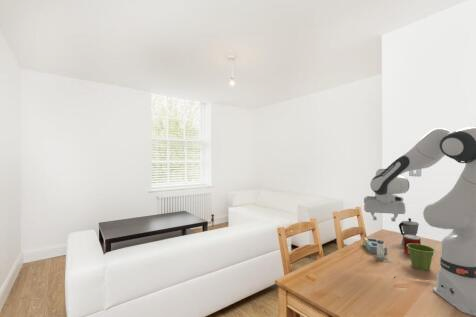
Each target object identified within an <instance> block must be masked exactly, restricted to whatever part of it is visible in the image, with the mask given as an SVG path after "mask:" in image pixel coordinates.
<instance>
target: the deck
mask: <svg viewBox="0 0 476 317" xmlns="http://www.w3.org/2000/svg"><path fill="white" fill-rule="evenodd" d="M370 254H371V257H372V258H373V259H374V260H375V262H378V263H387V264H391V261H390V260H389V259H388V258H387V257H386V256H385V255H384V260H380V259H378V258H377V254H374V253H370Z"/></svg>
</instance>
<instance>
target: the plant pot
mask: <svg viewBox="0 0 476 317" xmlns="http://www.w3.org/2000/svg"><path fill="white" fill-rule="evenodd" d="M407 247H408V250H409V253H410V255H409V258H410V262H411V266H412V267H414V268H416V269H418V270H421V271H429V270H431V265H432V259H433V256H434V253H435V252H436V249H435V248H434V247H431V246H428V245H426V244H414V243H410V244H407Z"/></svg>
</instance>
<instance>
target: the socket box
mask: <svg viewBox="0 0 476 317" xmlns="http://www.w3.org/2000/svg"><path fill="white" fill-rule="evenodd" d="M377 240H380V239H379V238H374V237H373V238H372V237H362V245H363V246H364V247H365V248H366V249H367V251H368V252H369V253H370V254H374V255H377ZM384 255H388V248H387V246H386V245H385V244H384Z"/></svg>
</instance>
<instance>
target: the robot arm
mask: <svg viewBox="0 0 476 317" xmlns="http://www.w3.org/2000/svg"><path fill="white" fill-rule="evenodd" d="M445 156H446V157H448V158H450V159H453V160H454V161H456V162H457V163H459V164H465V166H464V168H463V169H462V172H461V173H460V175H459V177H458V179H457V181H456V182H455V184H454V186H453V188H452V189H451V190H449V192H448V193H447V194H445V195H444V196H443V197H441V198H440V199H438V200H437V201H435V202H433V203H430V204H427V205H426V206H425V207H424V209H423V211H422V212H423V213H422V214H423V219H424V220H425V222H426V224H428V225H429V226H430V227H432V228H438V229H442V230H451V232H450V234H448V235H447V236H445V237H444V238H443V239H442V240H441V256H440V260H439V262H440V264H439V265H440V269H439V270H438V271H437V274H436V281H435V282H436V284H435V286H434V287H432V292H434V293H436V294H437V295H438V296H439V297H440V298H442V299H444V300H445V301H446V302H447V303H449V304H450V305H451V306H453V307H454V308H455V309H457V310H458V311H460V312H462V313H464V314H467V315H469V316H474V317H476V125H475V126H471V127H465V128H461V129H458V130H456V131H451V130H449V129H447V128H443V127H441V128H440V127H439V128H434V129H432V130H430V131H429V132H428V133H426V134H425V135H424V136H423V137H422V138H421V139H419V141H418V142H416V144H415V145H413V147H412V148H410V149H409V150H408V151H407V152H406V153H404V154H402V155H401V156H399V157H398V158H397V159H395V160H394V161H392V162H391V164H389V165H388V166H387V168H379V169H377V170H376V172H375V176H374V177H373V178H372V179H371V181H370V189H371V191H372V192H373V193H374V195H372V196H369V195H367V196H364V198H363V203H364V205H363V210H364V211H365V213H370V214H371V216H372V220H373V221H377V218H378V217H376V216H375V213H376V214H377V213H378V214H391V215H392V214H393V217H390V221H391V222H396V219H397V217H398V216H399V215H405V213H406V204H405V202H404V197H402V196H399V195H398V194H406V193H407V192H408V191H409V189H410V182H409V181H410V180H408V178H406V176H404V175H403V174H404V173H408V172H410V171H416V170H422V169H423V170H424V169H428V168H430V167H432V166H434V165H436V164H437V163H438V162H440V161H441V160H442V158H444V157H445ZM402 175H403V176H402Z"/></svg>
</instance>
